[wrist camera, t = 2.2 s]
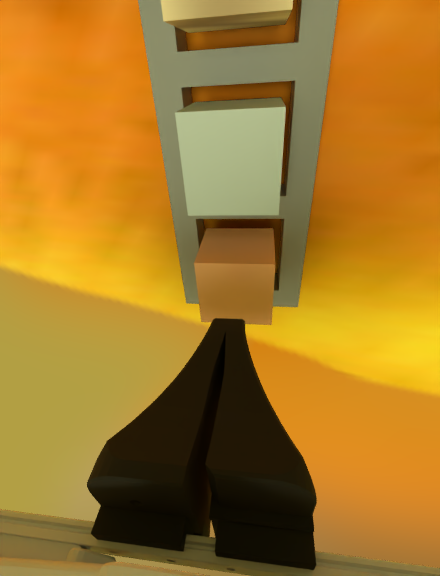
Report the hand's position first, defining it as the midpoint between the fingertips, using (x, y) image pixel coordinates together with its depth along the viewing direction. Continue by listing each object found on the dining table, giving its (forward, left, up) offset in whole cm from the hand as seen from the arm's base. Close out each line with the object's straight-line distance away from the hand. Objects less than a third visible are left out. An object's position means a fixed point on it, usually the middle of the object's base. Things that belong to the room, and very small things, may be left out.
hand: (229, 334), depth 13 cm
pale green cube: (0, -6, -7) cm, 9 cm away
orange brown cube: (0, 0, -7) cm, 7 cm away
